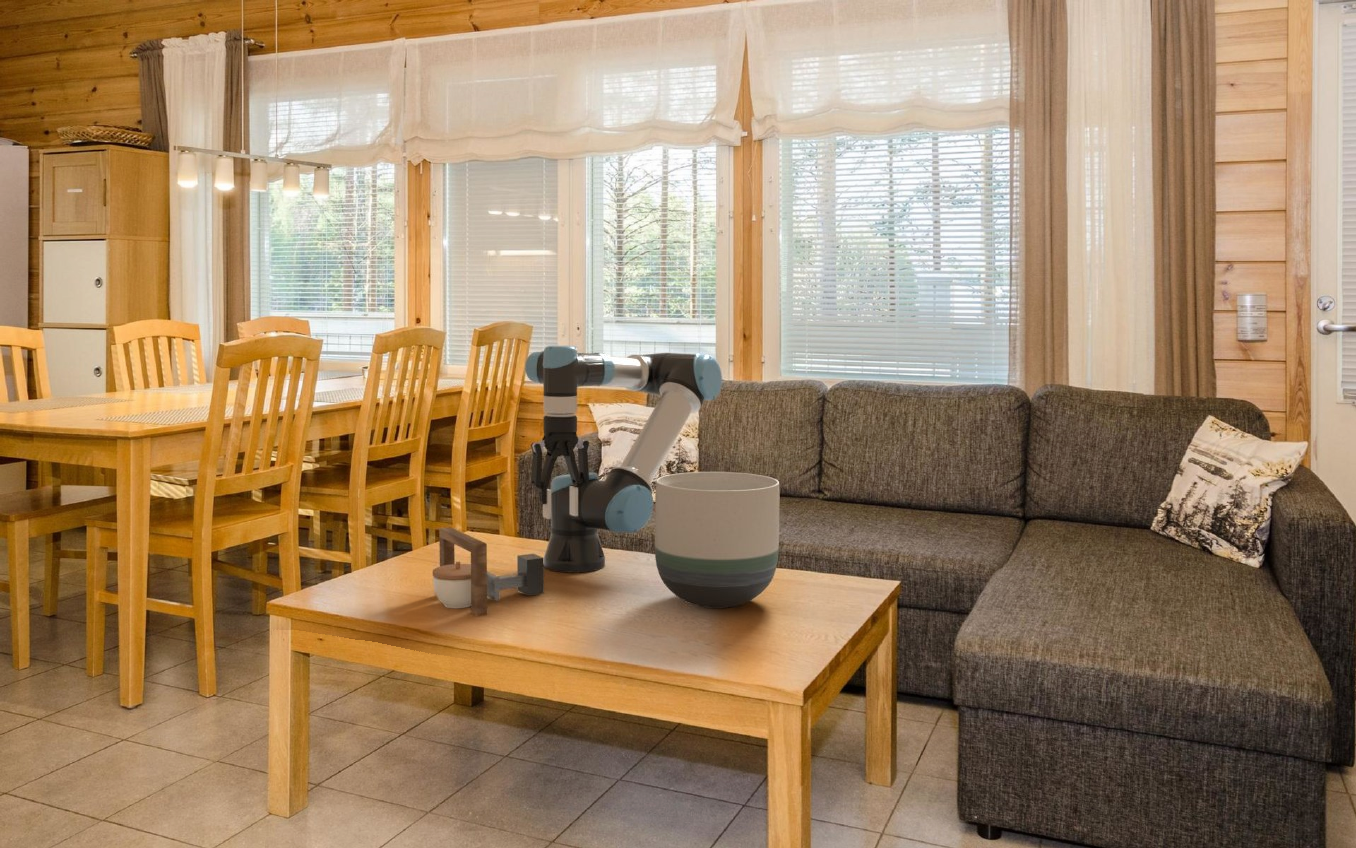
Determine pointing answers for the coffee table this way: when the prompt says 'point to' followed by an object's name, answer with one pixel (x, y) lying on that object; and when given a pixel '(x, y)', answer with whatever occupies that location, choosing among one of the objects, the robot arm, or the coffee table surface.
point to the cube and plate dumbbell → (519, 577)
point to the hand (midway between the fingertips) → (560, 516)
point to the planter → (716, 536)
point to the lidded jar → (453, 585)
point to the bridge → (478, 564)
